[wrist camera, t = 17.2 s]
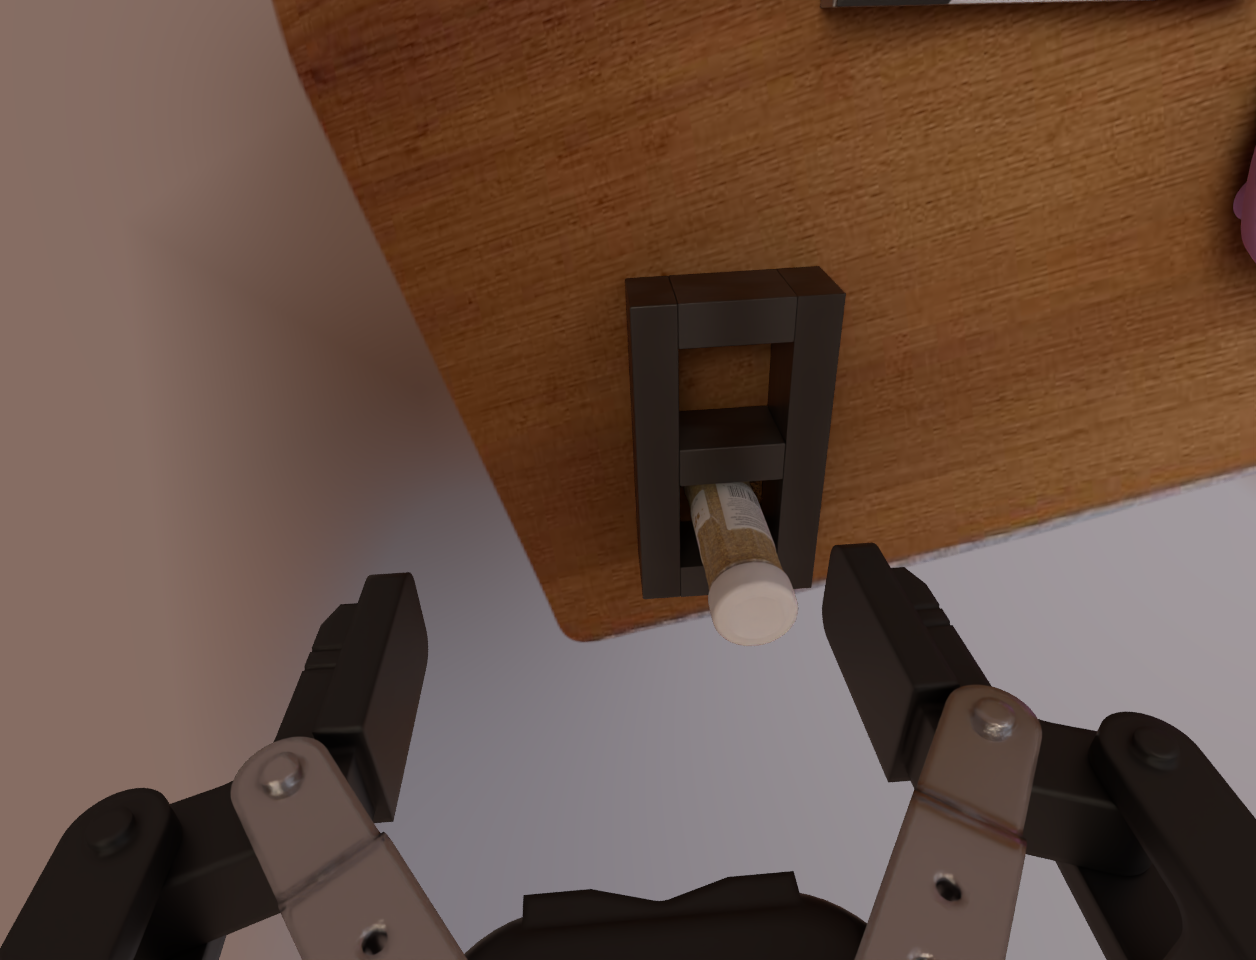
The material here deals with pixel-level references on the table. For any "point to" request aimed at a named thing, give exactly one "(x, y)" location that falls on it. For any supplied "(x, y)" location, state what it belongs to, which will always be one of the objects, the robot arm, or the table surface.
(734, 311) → the holder
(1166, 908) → the robot arm
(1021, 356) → the table surface
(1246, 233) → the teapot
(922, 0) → the picture frame
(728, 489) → the spice jar
